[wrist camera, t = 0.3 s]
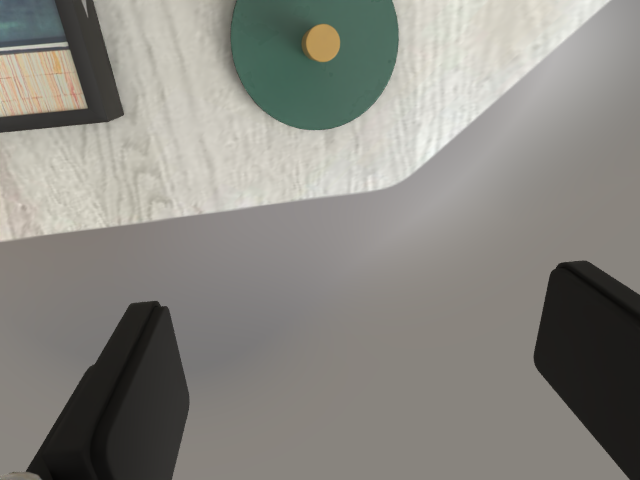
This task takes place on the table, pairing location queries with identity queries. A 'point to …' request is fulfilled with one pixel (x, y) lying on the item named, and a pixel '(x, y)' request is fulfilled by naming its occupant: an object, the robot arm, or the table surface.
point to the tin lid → (314, 57)
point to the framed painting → (53, 66)
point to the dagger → (85, 6)
